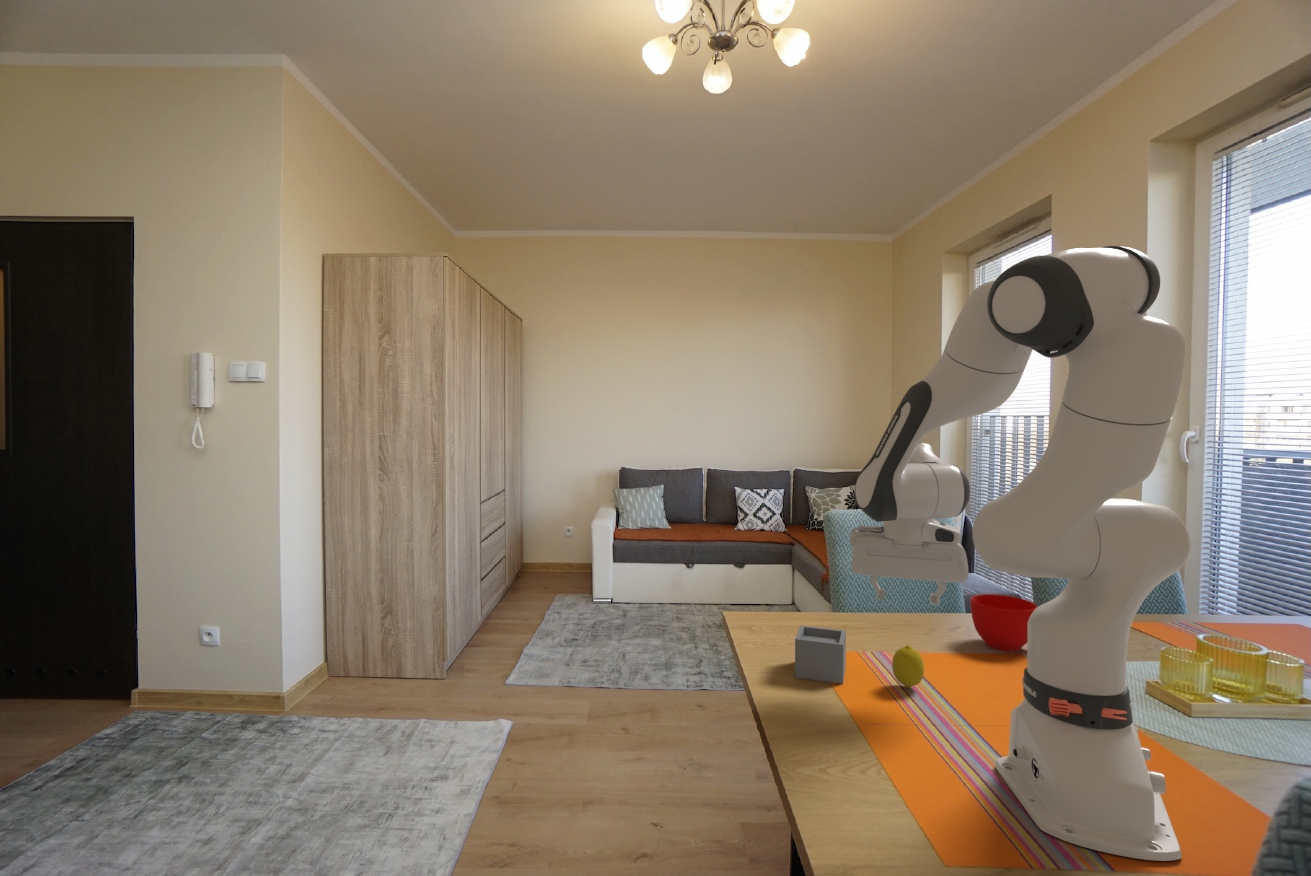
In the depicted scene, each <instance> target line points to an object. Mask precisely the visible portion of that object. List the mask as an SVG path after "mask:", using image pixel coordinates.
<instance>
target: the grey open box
mask: <svg viewBox="0 0 1311 876" xmlns="http://www.w3.org/2000/svg"><path fill="white" fill-rule="evenodd" d="M846 636H847V631H846V630H845V629H836V628H827V627H819V626H818V627H817V626H809V625H800V627H799V629H798V631H797V634H796V636H795V639H794V678H797V679H805V680H812V681H818V682H826V683H831V684H832V683H833V684H839V685H844V680H845V673H846V666H847V665H846V661H847V660H846V658H847V657H846V655H847V654H846V653H847V651H846V647H847V646H846V645H847V642H846V641H847V639H846V638H847V637H846Z"/></svg>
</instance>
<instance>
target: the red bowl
mask: <svg viewBox="0 0 1311 876" xmlns="http://www.w3.org/2000/svg"><path fill="white" fill-rule="evenodd" d="M1037 607H1038V606H1037V604H1036V603H1035V602H1033V601H1029V600H1027V599H1024V598H1020V597H1016V596H1009V595H1003V594H976V595H974V596H972V597H971V598H970V610H971V611H970V612H971V618H972V622H973V625H974V628H975V631H976V632H977V634H978V636H979V637H980V638H981V639H982V641H983V642H984V643H985V644H986V645H987V647H990V648H992V649H993V650H994V649H995V650H997V651H998V650H999V651H1003V652H1018V651H1020V649H1022V648H1023V647H1024V646H1025V645H1027V643H1028V620H1029V618H1030V616H1031V614H1032V612H1033V611H1034V610H1035V609H1036V608H1037Z"/></svg>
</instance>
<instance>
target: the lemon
mask: <svg viewBox="0 0 1311 876" xmlns="http://www.w3.org/2000/svg"><path fill="white" fill-rule="evenodd" d="M891 664H892V665H891V668H892V674H893V676H894V678H895V679H896V680H897V681H898V682H899V684H902V685H903V686H904V687H905V688H906V689H911V688H912V687H913V686H916V685H919V684H920V683H921V682H922V680H923V679H924V674H925V663H924V660H923V658H922V655H921V654H920V652H918V651H917V650H916V649H915V648H913V647H911V646H910V645H905V646H902V647H900V648H898V649H897V650H896V651H895V652H894V655H893V657H892V663H891Z"/></svg>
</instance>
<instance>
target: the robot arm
mask: <svg viewBox="0 0 1311 876" xmlns="http://www.w3.org/2000/svg"><path fill="white" fill-rule="evenodd" d="M1160 288H1161V275H1160V272H1159V268H1158V267H1157V265H1156V263H1155V262H1154V260H1153V259H1151V257H1150V256H1148V255H1147V254H1145V253H1144V252H1142V251H1140V250H1137V249H1134V248H1131V247H1128V246H1127V247H1126V246H1121V245H1120V246H1119V245H1117V246H1116V245H1107V246H1101V247H1092V248H1084V247H1077V248H1075V247H1074V248H1069V249H1063V250H1059V251H1055V252H1051V253H1048V254H1044V255H1036V256H1031V257H1028V258H1026V259H1023V260H1021V261H1019V262H1016V263H1015V264H1013V265H1011V266H1010V267H1008V268H1007V269H1006V270H1004V271H1003V272H1002V273H1000V274H999V276H998V277H996V279H995V280H991V281H988V282H984V283H983V284H981V285H979V286H977V287H976V288H975V289H973V291H972V292H971V294H970V295H969V296H968V298H967V299H966V301H965V303H964V304H963V306H962V308H961V311H959V314H958V316H957V318H956V320H955V322H954V324H953V326H952V327H951V328H952V329H951V331H950V332H949V336H948V338H947V341H946V344H945V347H944V349H943V351H942V354H941V356H940V358H939V359H938V360H937V362H936V364H935V365H934V367H932V369H931V370H930V371H929V372H928V373H927V375H926V376H924V377H923V378H922V379H921V380H920V381H918V382H916V383H914V384H913V385H911V386H910V387H909V389H908V390H906V393H905V394H904V395H903V397H902V399H901V400H900V402H899V404H898V406H897V407H896V410H895V411H894V413H893V415H892V418H891V419H890V421H889V423H888V425H887V427H886V429H885V431H884V432H883V435H882V437H881V439H880V440H879V442H878V445H877V446H876V448H875V450H874V452H873V454H872V455H871V457H870V459H869V460H868V462H867V463H866V465H864V467H863V468H862V469H861V470H860V472H859V474H858V476H857V477H856V481H855V486H854V487H855V488H854V498H855V499H854V500H855V503H856V505H857V506H858V508H859V509H860V510H861V511H862V512H863V514H865V515H866V516H868V517H869V518H870V519H871V520H873V521H875V522H877V523H879V522H882V526H876V525H875V526H873V525H872V526H866V525H858V526H857V527H854V528H853V529H852V530H851V531H850V533H849V543H850V547H852V548H853V550H852V555H851V564H850V565H851V571H852V572H853V573H854V574H855V575H860V576H869V577H870V582H871V585H872V586H873V588H874V589H875V591H876V600H882V601H883V600H885V601H886V599H885V598H886V597H885V596H886V592H885V588H881V587H880V585H879V584H878V582H879V577H884V578H885V577H886V578H897V579H904V580H905V579H907V580H917V581H918V580H919V581H929V582H930V581H932V582H936V584H937V586H938V588H937V590H936V591H935V593H934V592H930V594H929V595H930V596H929V601H930V605H933V606H940V604H941V603H940V602H941V601H940V599H941V596H942V595H943V594H944V593H945V591H946V589H947V585H948V584H947V583H955V584H956V583H957V584H965V583H966V582H967V581H968V580H969V564H968V563H969V561H968V556H967V553H966V550H965V548H964V547H963V545H962V544H961V543H960V542H961V539H962V533H961V531H960V530H959V529H958V528H957V527H955V526H953V525H950V524H948V523H944V522H941V521H939V520H938V519H951V518H955V517H958V516H960V515H961V514H962V513H963V512H964V511H965V509H966V508H967V506H968V504H969V502H970V497H971V487H970V485H971V484H970V481H969V479H968V477H967V475H966V474H965V472H964V471H963V470H962V469H960V467H958V466H957V465H955V464H950V463H948V462H946V461H944V460H943V459H941V458H940V457H938V456H937V455H936V454H935V452H934V449H933V447H932V445H930V444H929V443H927V442H922V439H923V438H924V437H926V436H927V435H928V434H929V433H930V432H932V431H934V430H935V429H938V428H940V427H943V426H945V425H948V424H950V423H953V422H957V421H960V420H965V419H967V418H971V417H976V416H979V415H984V414H987V413H988V412H992V411H993V410H996V409H997V408H999V407H1000V406H1002V405H1003V404H1005V402H1007V400H1008V399H1009V398H1010V397H1011V396H1012V394H1013V393H1014V392H1015V391H1016V388H1017V387H1018V385H1019V384H1020V381H1021V379H1022V376H1023V374H1024V371H1025V370H1026V368H1027V365H1028V362H1029V359H1030V358H1031V354H1032V351H1033V350H1034V351H1035V352H1036V353H1038V354H1040V355H1041V356H1043V357H1045V358H1049V359H1053V358H1058V357H1062V356H1065V358H1066V360H1067V362H1068V375H1067V380H1066V384H1065V387H1064V391H1063V393H1062V398H1061V402H1060V404H1059V409H1058V411H1057V412H1058V413H1057V416H1056V419H1055V424H1054V427H1053V430H1052V433H1051V436H1050V438H1049V441H1048V444H1047V446H1046V448H1045V451H1044V453H1043V454H1042V456H1041V457H1040V460H1039V461H1038V462H1037V464H1036V465H1035V467H1034V468H1033V469H1032V470H1031V472H1029V474H1027V476H1026V477H1024V478H1023V480H1022V481H1020V482H1019V483H1018V484H1017V485H1016V486H1015V487H1013V488H1011V490H1009V491H1008V492H1006V493H1005V494H1003V495H1001V496H1000V497H997V498H996V499H993V500H991V501H989V502H987V503H985V504H984V505H983V506H982V508H981V509H980V510H979V511H978V513H977V514H976V516H975V518H974V521H973V524H972V531H971V534H972V535H971V536H972V542H973V545H974V548H975V551H976V553H977V554H978V556H979V558H980V559H981V560H982V561H983V563H984V564H985V565H987V567H988V568H990V569H992V570H994V571H998V572H1002V573H1007V574H1012V575H1016V576H1021V577H1025V578H1038V579H1039V578H1042V579H1043V578H1044V579H1045V578H1047V579H1049V578H1050V579H1068V581H1067V583H1066V586H1065V587H1064V589H1063V590H1061V592H1060V593H1059V594H1058V595H1057V596H1056V597H1055V598H1052V599H1050V600H1049V601H1046V602H1044V603H1043V604H1041V605H1039V606H1037V608H1036V609H1035V610H1034V611H1033V612H1032V614H1031V616H1030V618H1029V620H1028V642H1027V643H1026V645H1027V646H1026V648H1027V653H1026V654H1027V655H1026V656H1027V658H1026V661H1027V662H1026V663H1027V665H1026V666H1027V667H1025V668H1024V670H1023V677H1022V687H1023V688H1022V690H1023V693H1022V694H1023V697H1024V698H1023V700H1022V701H1021V702H1020V703H1019V705H1017V706H1016V707H1014V709H1012V710H1011V711H1010V726H1009V741H1008V742H1009V744H1008V755H1007V756H1002V757H998V758H996V760H995V766H994V767H995V770H996V771H998V773H999V775H1000V776H1001V777H1002V779H1003V780H1004V782H1005V783H1006V785H1008V788H1010V790H1011V791H1012V793H1013V794H1014V795H1015V796H1016V798H1017V800H1018V801H1019V802H1020V803H1021V806H1022V807H1024V809H1025V810H1026V812H1027V813H1028V815H1029V816H1030V818H1031V819H1032V820H1033V822H1034V823H1035V825H1036V826H1037V827H1038V828H1039V829H1040V830H1041V831H1043V832H1044V833H1046V834H1048V835H1050V836H1053V837H1055V838H1058V839H1059V840H1061V841H1064V842H1068V843H1070V844H1074V845H1076V846H1079V847H1083V848H1087V849H1091V850H1094V851H1097V852H1101V853H1102V852H1103V853H1105V854H1111V855H1116V856H1121V857H1126V858H1131V859H1137V860H1145V861H1155V862H1156V861H1158V862H1159V861H1160V862H1166V861H1168V862H1169V861H1177V860H1180V859H1182V850H1181V846H1180V843H1179V841H1178V838H1177V836H1176V833H1175V829H1174V828H1173V825H1172V823H1171V822H1172V821H1171V820H1170V816H1169V814H1168V811H1167V808H1166V806H1165V804H1164V803H1165V802H1164V800H1163V797H1162V795H1163V794H1164V795H1165V794H1166V791H1167V787H1166V786H1167V785H1166V779H1165V775H1164V774H1163V773H1161V772H1158V771H1153V770H1148V766H1147V761H1151V760H1152V758H1151V757H1152V755H1151V754H1152V753H1151V750H1150V749H1149V748H1147V747H1142V745H1141V741H1140V737H1139V729H1138V727H1137V726H1136V725H1135V724H1134V719H1133V703H1132V701H1133V700H1132V699H1131V695H1130V694H1131V692H1130V689H1129V688H1128V686H1126V685H1127V684H1126V683H1127V682H1126V681H1127V680H1126V677H1127V676H1126V675H1127V656H1128V647H1129V646H1128V645H1129V643H1128V642H1129V635H1130V631H1131V627H1132V624H1133V621H1134V619H1135V617H1136V614H1137V612H1138V611H1139V609H1140V607H1142V606H1141V605H1142V604H1143V603H1144V601H1145V600H1146V598H1147V597H1148V596H1149V595H1150V593H1151V592H1152V591H1153V590H1154V589H1155V588H1156V587H1157V586H1158V585H1159V584H1161V583H1162V582H1163V581H1165V580H1166V579H1168V578H1169V577H1171V576H1172V575H1174V574H1176V573H1177V572H1179V571H1180V570H1181V569H1182V568H1183V566H1184V565H1185V563H1186V562H1187V560H1188V557H1189V555H1190V551H1191V539H1190V534H1189V530H1188V529H1187V527H1186V525H1185V523H1184V521H1183V520H1182V519H1181V517H1180V516H1179V515H1178V514H1177V513H1176V512H1175V511H1174V510H1172V509H1171V508H1170V507H1168V506H1166V505H1161V504H1157V503H1152V502H1147V501H1143V500H1138V499H1132V498H1125V497H1123V498H1122V497H1121V498H1120V497H1118V498H1117V497H1115V496H1116V495H1117V496H1118V495H1119V494H1122V493H1123V492H1125V491H1128V490H1130V489H1132V488H1134V487H1136V486H1138V485H1140V484H1142V483H1143V482H1144V481H1146V480H1147V478H1149V476H1150V475H1151V474H1152V472H1154V469H1155V467H1156V465H1157V462H1158V458H1159V455H1160V454H1161V453H1160V452H1161V450H1162V447H1163V444H1164V441H1165V439H1166V436H1167V433H1168V430H1169V427H1170V423H1171V421H1172V419H1173V415H1174V411H1175V409H1176V405H1177V403H1178V398H1179V394H1180V390H1181V387H1182V385H1181V384H1182V380H1183V374H1184V366H1185V365H1184V364H1185V355H1186V354H1185V353H1186V342H1185V338H1184V337H1183V335H1182V333H1181V331H1180V330H1179V329H1177V328H1176V327H1175V326H1174V325H1172V324H1170V323H1168V322H1166V321H1164V320H1162V319H1159V318H1156V317H1152V316H1146V315H1144V314H1145V313H1147V311H1149V309H1150V308H1151V307H1152V305H1153V304H1154V303H1155V302H1156V299H1157V298H1158V295H1159V293H1160ZM935 519H937V520H935ZM1161 794H1162V795H1161Z"/></svg>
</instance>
